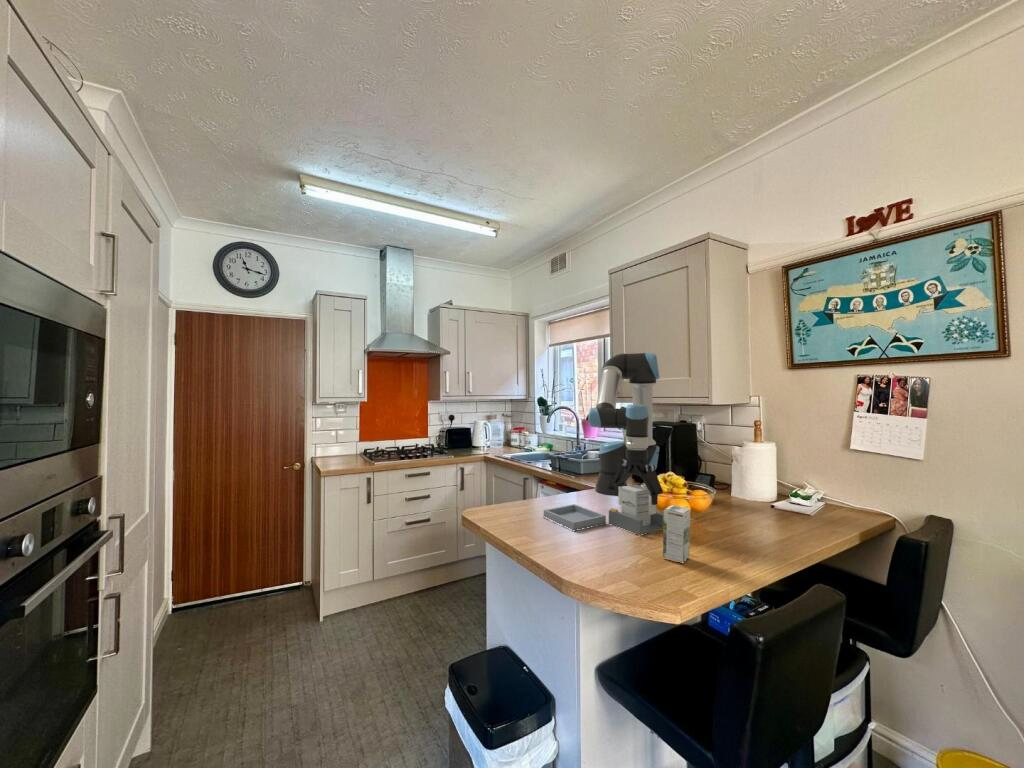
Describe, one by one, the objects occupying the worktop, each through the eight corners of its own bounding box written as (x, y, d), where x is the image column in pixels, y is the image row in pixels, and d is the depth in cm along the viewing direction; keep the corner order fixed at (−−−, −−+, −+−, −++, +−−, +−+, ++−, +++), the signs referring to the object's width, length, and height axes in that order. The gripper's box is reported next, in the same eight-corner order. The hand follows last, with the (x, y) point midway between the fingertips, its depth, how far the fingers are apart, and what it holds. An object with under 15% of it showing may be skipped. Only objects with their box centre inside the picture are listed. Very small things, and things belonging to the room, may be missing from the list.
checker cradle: (633, 518, 156) (633, 502, 156) (665, 528, 144) (665, 512, 144) (608, 523, 149) (608, 507, 149) (639, 535, 137) (639, 518, 137)
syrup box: (669, 553, 123) (669, 504, 123) (690, 558, 119) (690, 508, 119) (662, 559, 118) (662, 508, 118) (684, 565, 115) (684, 512, 115)
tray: (574, 511, 163) (574, 504, 163) (605, 524, 149) (605, 515, 149) (543, 518, 155) (543, 510, 155) (573, 531, 141) (573, 522, 141)
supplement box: (620, 522, 148) (620, 486, 148) (635, 518, 151) (635, 484, 152) (635, 528, 141) (635, 491, 141) (651, 524, 145) (651, 488, 145)
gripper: (603, 444, 155) (603, 501, 155) (659, 454, 134) (659, 520, 134) (617, 443, 159) (617, 498, 159) (674, 452, 138) (673, 516, 138)
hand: (636, 508), depth 146 cm, fingers open, 13 cm apart
